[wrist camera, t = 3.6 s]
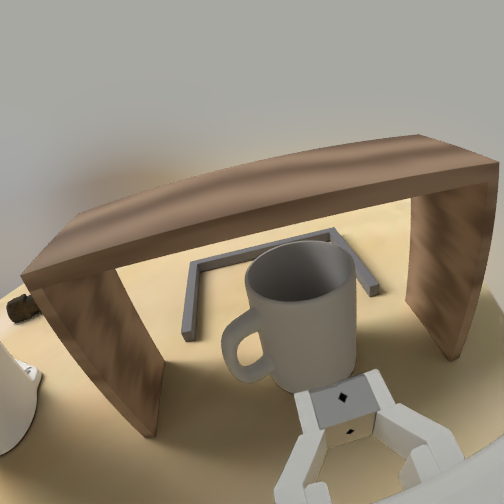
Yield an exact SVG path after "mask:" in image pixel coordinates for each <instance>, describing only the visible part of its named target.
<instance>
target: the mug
mask: <svg viewBox="0 0 504 504" xmlns="http://www.w3.org/2000/svg"><path fill="white" fill-rule="evenodd" d="M245 287H246V291H247V296H248V300H249V305H250V309H249V310H248V311H247V312H245V313H244V314H242V315H240V316H239V317H238V318H236V319H235V320H233V321H232V322H231V323H230V324H229V325H228V326H227V327H226V329H225V330H224V332H223V334H222V339H221V348H222V354H223V358H224V360H225V363H226V365H227V367H228V369H229V370H230V372H231V373H232V374H233V376H235V377H236V378H237V379H238V380H239V381H241V382H243V383H253V382H256V381H258V380H260V379H262V378H264V377H266V376H268V375H269V374H270V375H271V377H272V378H273V380H274V381H275V382H276V384H277V385H279V386H280V387H281V388H282V389H284V390H286V391H288V392H290V393H293V394H295V393H299V392H303V391H306V390H311V389H315V388H318V387H322V386H325V385H329V384H332V383H336V382H338V381H341V380H344V379H347V378H349V376H350V375H351V373H352V371H353V369H354V366H355V363H356V268H355V263H354V261H353V258H352V257H351V255H350V254H349V253H348V252H347V251H346V250H344V249H343V248H341V247H339V246H337V245H335V244H332V243H328V242H323V241H297V242H292V243H287V244H284V245H280V246H278V247H275V248H273V249H270V250H268V251H267V252H265V253H263V254H262V255H260V256H259V257H257V258H256V259H255V260H254V261H253V262H252V263H251V265H250V266H249V267H248V269H247V271H246V274H245ZM255 332H258V333H259V337H260V341H261V345H262V350H263V356H262V357H261V358H260V359H259V360H257V361H256V362H255V363H253V364H251V365H249V366H241V365H240V363H239V361H238V358H237V349H238V346H239V344H240V342H241V341H242V340H243V339H244V338H245V337H247V336H249V335H250V334H252V333H255Z"/></svg>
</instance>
